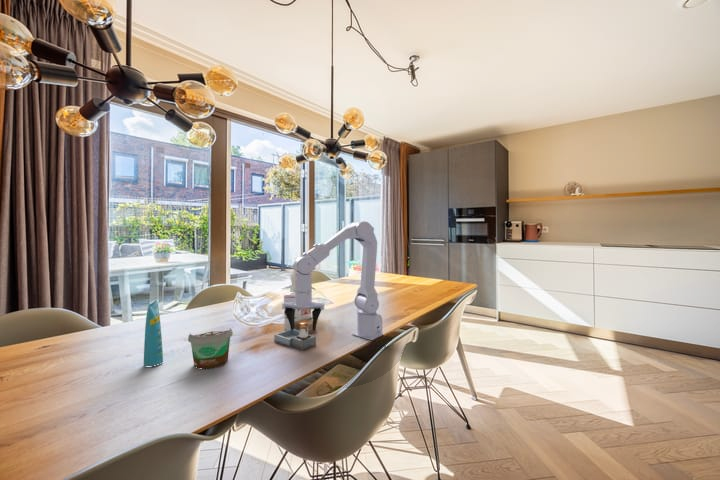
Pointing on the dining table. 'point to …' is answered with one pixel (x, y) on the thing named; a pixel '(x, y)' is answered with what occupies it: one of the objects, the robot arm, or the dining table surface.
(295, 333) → the tray
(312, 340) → the socket
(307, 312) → the fruit juice
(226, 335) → the food container
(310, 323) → the chock
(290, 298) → the syrup box
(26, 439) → the dining table surface
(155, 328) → the tube
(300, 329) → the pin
